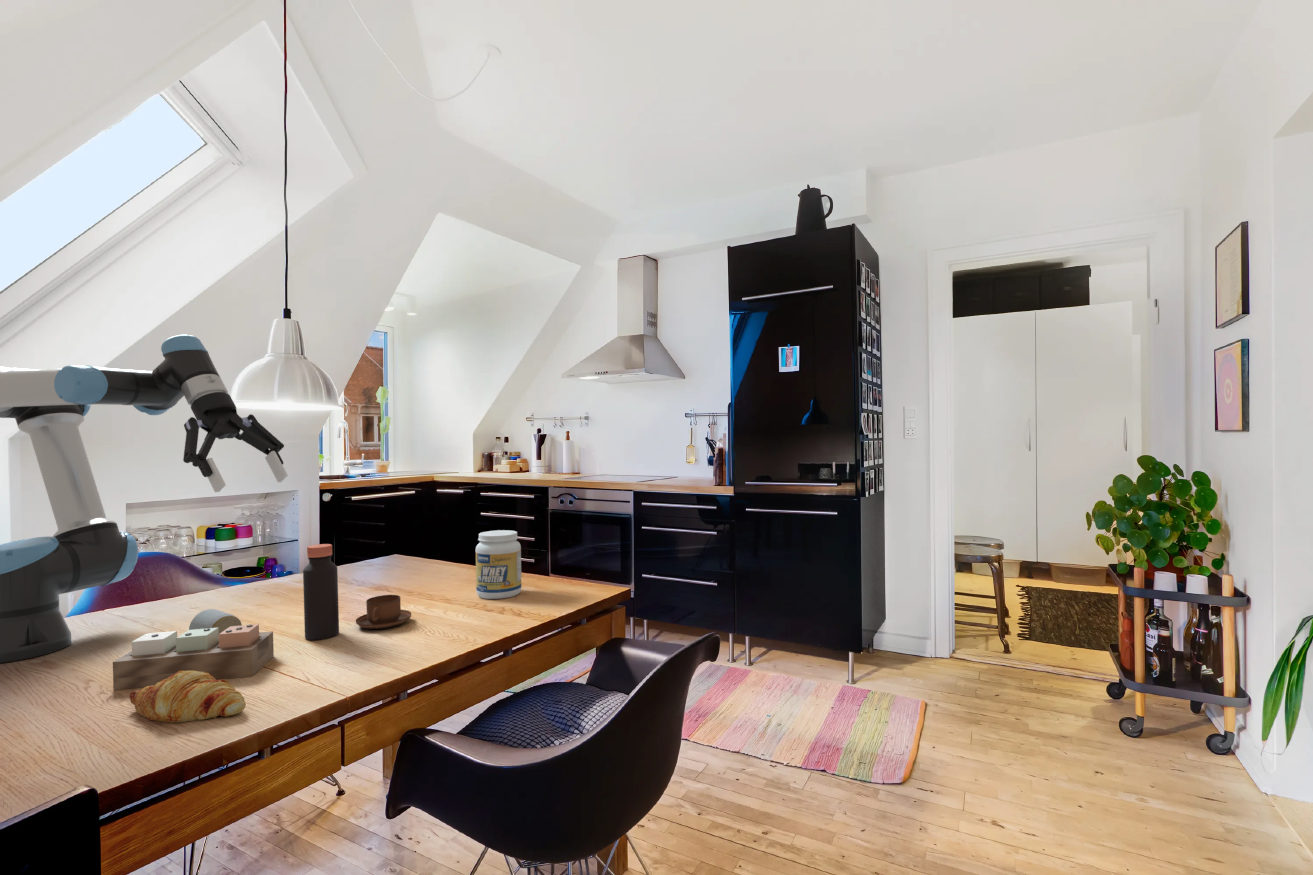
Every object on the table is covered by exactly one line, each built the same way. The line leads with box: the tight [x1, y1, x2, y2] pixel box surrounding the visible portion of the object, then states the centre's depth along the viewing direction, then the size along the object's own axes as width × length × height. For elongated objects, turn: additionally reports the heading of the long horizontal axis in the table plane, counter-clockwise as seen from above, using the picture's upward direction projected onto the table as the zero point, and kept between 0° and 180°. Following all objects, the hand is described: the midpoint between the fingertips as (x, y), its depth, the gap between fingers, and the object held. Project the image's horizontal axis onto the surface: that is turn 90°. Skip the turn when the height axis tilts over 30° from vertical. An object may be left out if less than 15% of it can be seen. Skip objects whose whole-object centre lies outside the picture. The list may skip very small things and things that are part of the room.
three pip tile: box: [219, 623, 260, 648], centre depth 122 cm, size 5×5×4 cm
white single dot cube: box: [131, 630, 178, 656], centre depth 118 cm, size 5×5×4 cm
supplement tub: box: [474, 529, 522, 600], centre depth 174 cm, size 12×12×17 cm
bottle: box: [302, 543, 340, 641], centre depth 140 cm, size 7×7×20 cm
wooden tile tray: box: [112, 631, 275, 691], centre depth 120 cm, size 22×11×5 cm, turn 103°
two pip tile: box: [176, 628, 219, 652], centre depth 120 cm, size 5×5×4 cm
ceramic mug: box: [188, 608, 243, 634], centre depth 137 cm, size 10×8×7 cm
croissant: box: [128, 670, 247, 724], centre depth 102 cm, size 21×10×8 cm, turn 81°
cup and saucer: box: [355, 594, 412, 630], centre depth 148 cm, size 12×12×6 cm
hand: (253, 483), depth 133 cm, fingers open, 13 cm apart
